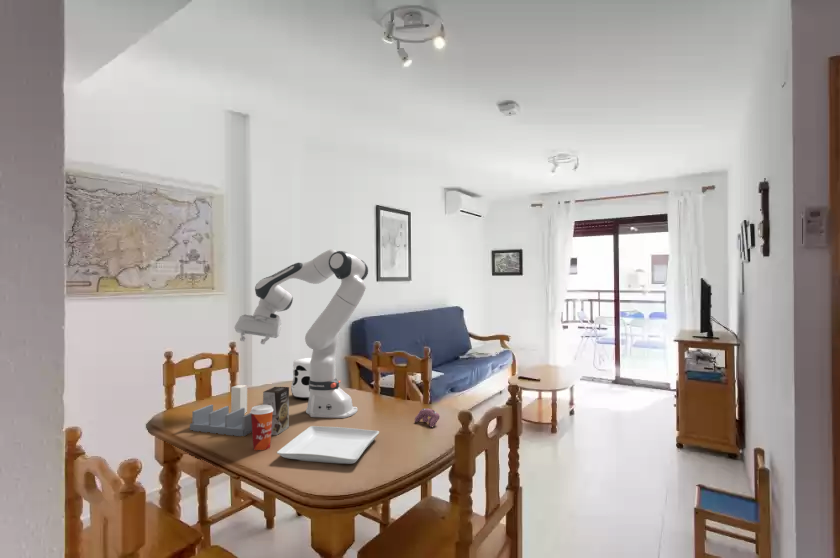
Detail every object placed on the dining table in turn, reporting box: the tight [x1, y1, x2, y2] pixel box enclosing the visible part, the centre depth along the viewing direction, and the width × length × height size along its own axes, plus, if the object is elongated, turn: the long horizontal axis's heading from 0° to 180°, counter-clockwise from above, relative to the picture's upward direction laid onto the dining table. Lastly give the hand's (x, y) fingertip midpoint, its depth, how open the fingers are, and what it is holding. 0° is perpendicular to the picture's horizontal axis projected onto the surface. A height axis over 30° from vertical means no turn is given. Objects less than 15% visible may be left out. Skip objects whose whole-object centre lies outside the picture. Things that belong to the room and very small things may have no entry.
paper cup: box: [249, 404, 274, 451], centre depth 153 cm, size 8×8×14 cm
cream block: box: [230, 384, 248, 414], centre depth 191 cm, size 4×4×12 cm
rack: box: [189, 404, 252, 437], centre depth 172 cm, size 24×12×7 cm, turn 75°
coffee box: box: [262, 386, 290, 436], centre depth 170 cm, size 9×6×16 cm
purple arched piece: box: [414, 408, 440, 428], centre depth 179 cm, size 10×5×7 cm, turn 47°
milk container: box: [290, 357, 312, 400], centre depth 220 cm, size 17×17×18 cm
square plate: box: [276, 425, 380, 465], centre depth 152 cm, size 27×27×4 cm
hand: (252, 342), depth 200 cm, fingers open, 8 cm apart
